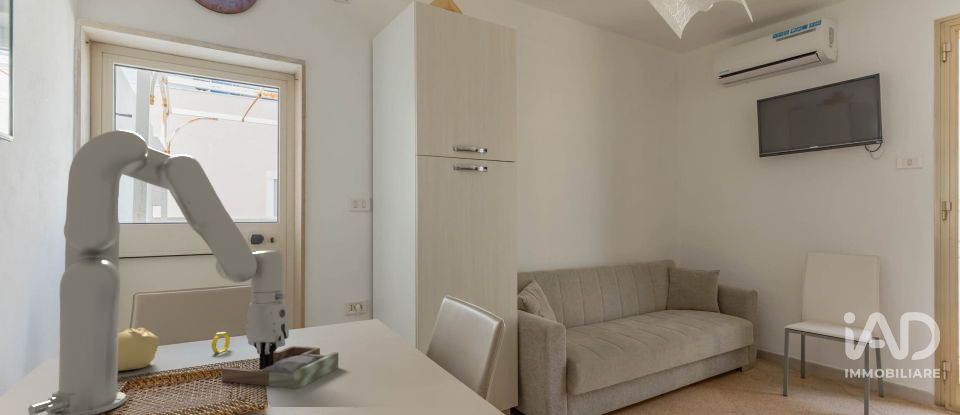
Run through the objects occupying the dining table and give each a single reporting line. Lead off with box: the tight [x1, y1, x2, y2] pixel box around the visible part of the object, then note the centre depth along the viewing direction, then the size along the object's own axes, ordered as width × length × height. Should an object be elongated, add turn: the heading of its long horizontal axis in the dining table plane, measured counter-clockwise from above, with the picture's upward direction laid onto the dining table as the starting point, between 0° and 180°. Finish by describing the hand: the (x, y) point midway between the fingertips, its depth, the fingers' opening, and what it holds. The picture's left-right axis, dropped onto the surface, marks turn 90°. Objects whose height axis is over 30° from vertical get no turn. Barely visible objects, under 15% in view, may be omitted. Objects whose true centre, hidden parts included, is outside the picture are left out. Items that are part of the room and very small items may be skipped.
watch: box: [211, 331, 231, 354], centre depth 139 cm, size 6×3×6 cm, turn 169°
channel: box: [221, 345, 339, 390], centre depth 121 cm, size 22×22×4 cm
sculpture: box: [118, 327, 160, 372], centre depth 124 cm, size 11×12×11 cm
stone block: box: [262, 355, 316, 373], centre depth 118 cm, size 12×5×10 cm
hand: (266, 368), depth 119 cm, fingers closed
